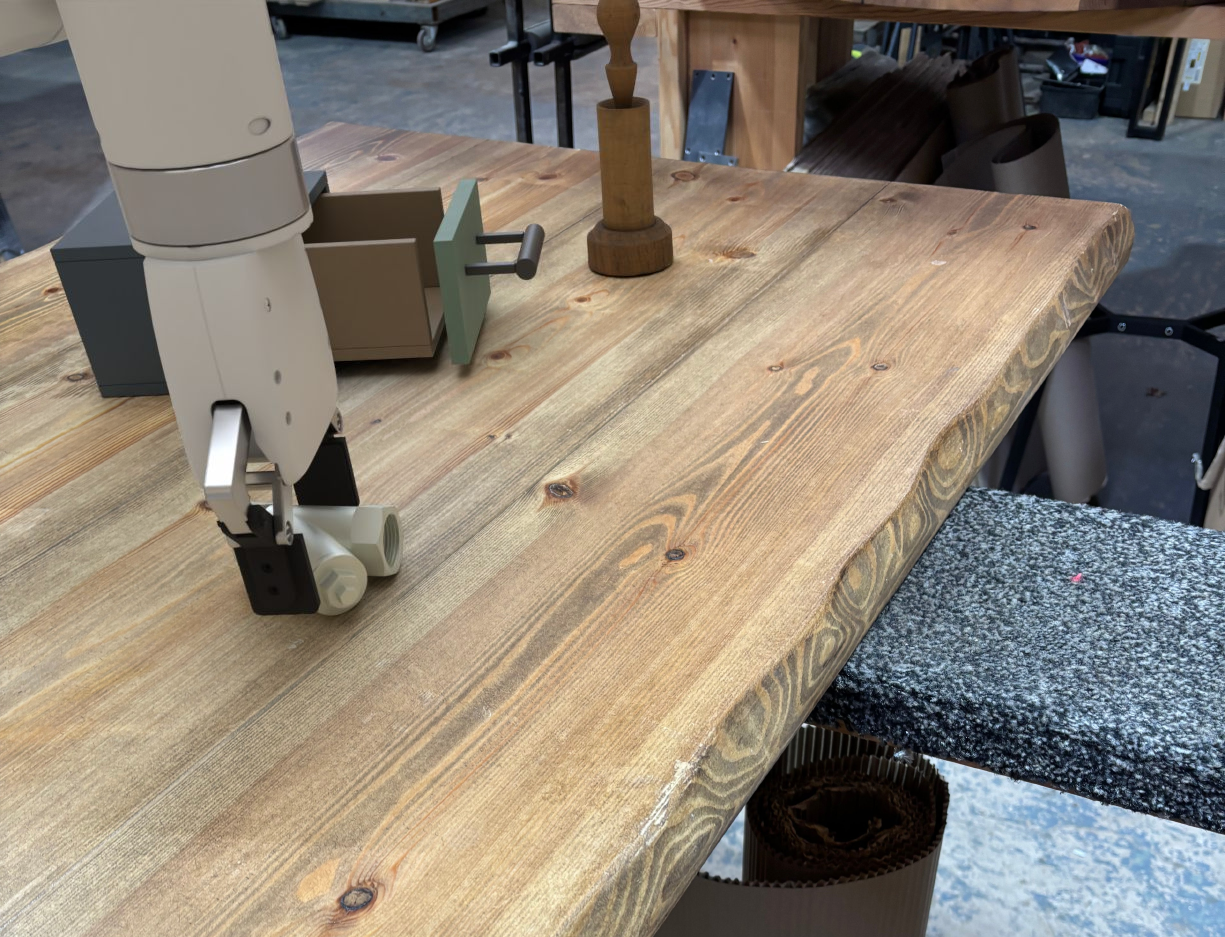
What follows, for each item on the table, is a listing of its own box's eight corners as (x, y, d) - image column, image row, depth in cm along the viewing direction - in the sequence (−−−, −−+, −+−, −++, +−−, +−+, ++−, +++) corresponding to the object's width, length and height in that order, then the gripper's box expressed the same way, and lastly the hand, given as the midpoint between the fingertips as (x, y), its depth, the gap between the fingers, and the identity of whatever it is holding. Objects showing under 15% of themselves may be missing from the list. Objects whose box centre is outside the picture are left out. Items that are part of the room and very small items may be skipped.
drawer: (554, 289, 90) (544, 174, 85) (540, 361, 81) (527, 236, 76) (312, 301, 92) (286, 188, 86) (269, 373, 82) (238, 251, 77)
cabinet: (353, 309, 92) (325, 169, 86) (313, 388, 82) (277, 237, 76) (165, 318, 93) (123, 181, 87) (101, 397, 83) (48, 249, 77)
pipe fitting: (372, 633, 61) (408, 553, 65) (354, 568, 58) (393, 488, 62) (221, 627, 62) (266, 549, 66) (196, 563, 59) (245, 485, 64)
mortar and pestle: (654, 243, 99) (644, -24, 87) (686, 267, 94) (681, -11, 82) (577, 258, 98) (556, -12, 85) (606, 283, 93) (588, 2, 81)
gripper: (187, 142, 57) (279, 480, 69) (47, 272, 44) (188, 660, 56) (345, 131, 57) (411, 474, 68) (249, 260, 44) (350, 655, 55)
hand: (310, 558), depth 62 cm, fingers open, 9 cm apart
